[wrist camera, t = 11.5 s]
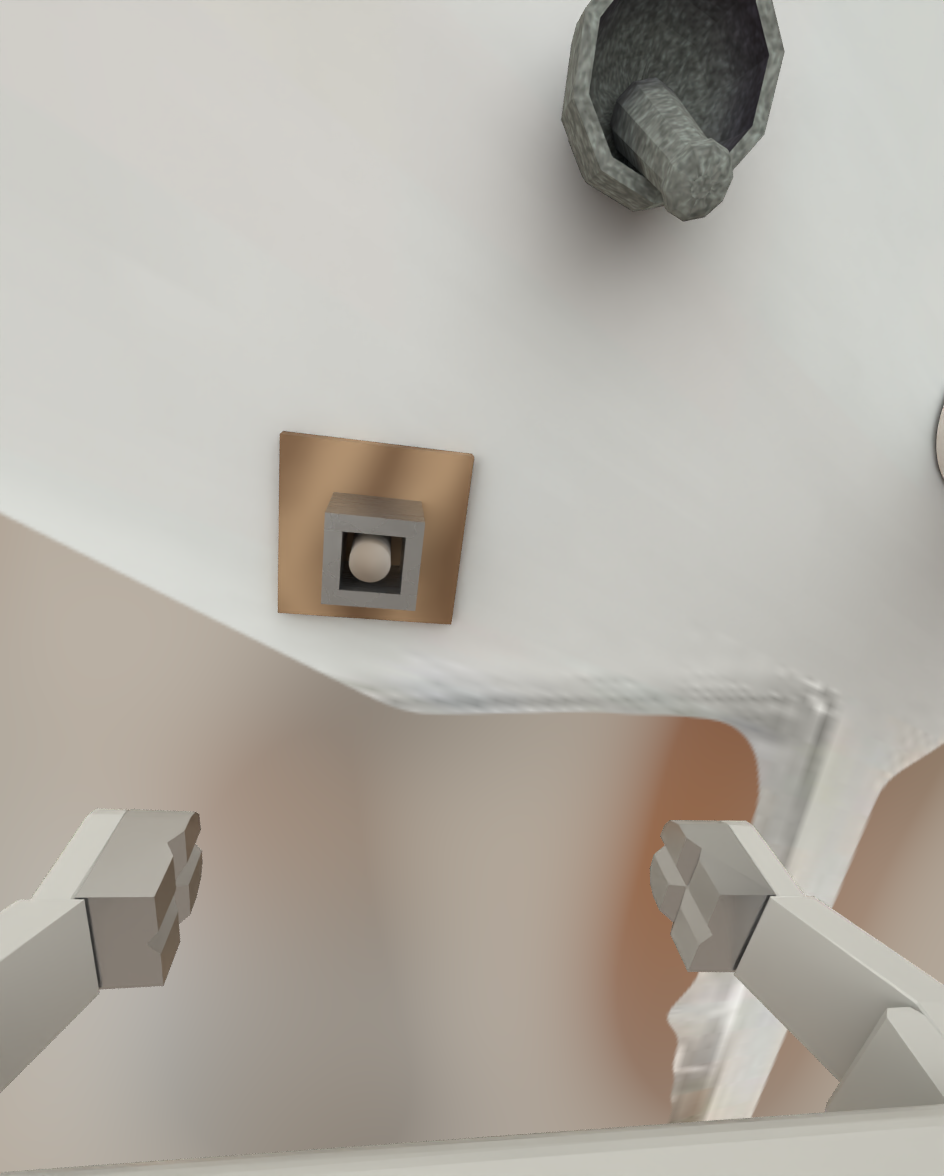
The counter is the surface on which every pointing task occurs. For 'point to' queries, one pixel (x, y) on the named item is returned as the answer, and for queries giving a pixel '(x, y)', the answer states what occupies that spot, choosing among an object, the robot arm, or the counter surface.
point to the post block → (371, 471)
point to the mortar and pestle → (669, 97)
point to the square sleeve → (378, 520)
